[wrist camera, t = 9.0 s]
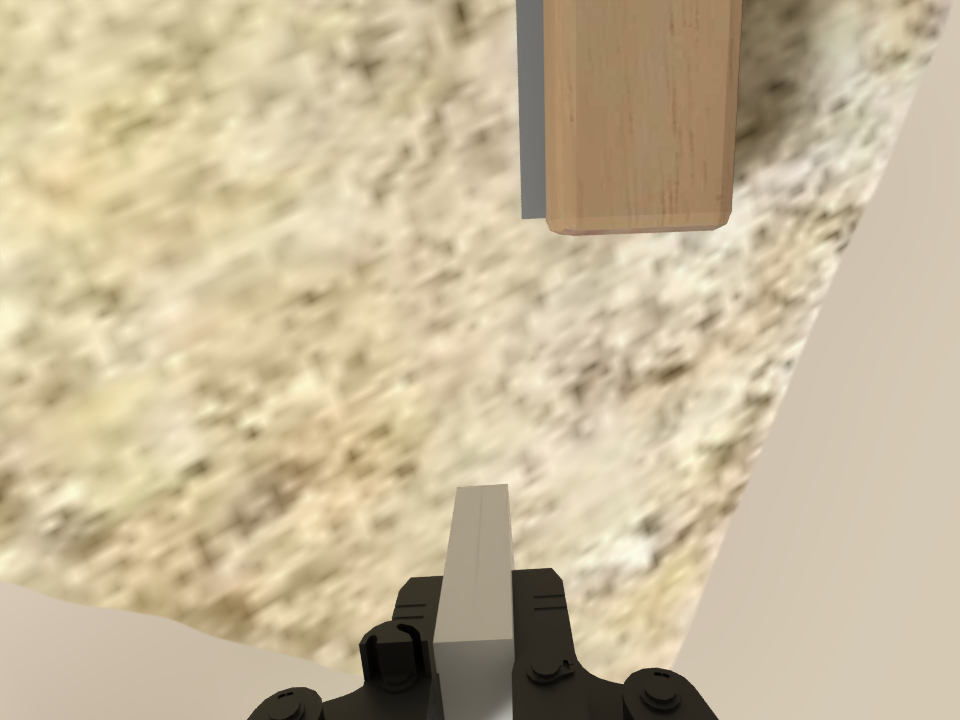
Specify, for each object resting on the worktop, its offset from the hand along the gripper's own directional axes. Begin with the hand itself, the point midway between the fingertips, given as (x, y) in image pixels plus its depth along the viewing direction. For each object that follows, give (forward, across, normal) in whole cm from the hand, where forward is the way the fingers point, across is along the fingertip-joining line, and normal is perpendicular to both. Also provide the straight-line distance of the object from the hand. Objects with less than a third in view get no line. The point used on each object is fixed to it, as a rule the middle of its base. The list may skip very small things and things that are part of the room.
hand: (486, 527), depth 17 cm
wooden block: (+23, +9, +7) cm, 26 cm away
